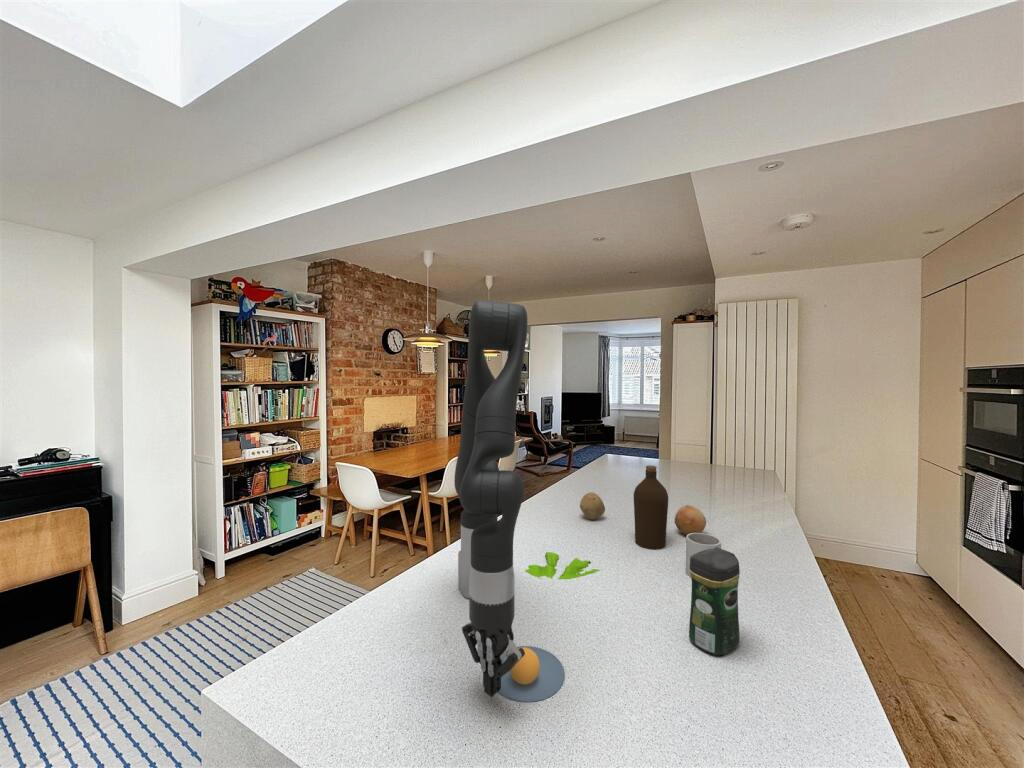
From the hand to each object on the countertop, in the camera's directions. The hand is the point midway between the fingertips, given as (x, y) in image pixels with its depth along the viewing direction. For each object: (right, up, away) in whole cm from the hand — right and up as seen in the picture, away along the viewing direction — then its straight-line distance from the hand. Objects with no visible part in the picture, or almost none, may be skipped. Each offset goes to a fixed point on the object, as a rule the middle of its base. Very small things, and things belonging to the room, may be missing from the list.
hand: (491, 692), depth 70 cm
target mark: (+6, -1, +7) cm, 9 cm away
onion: (+64, 0, +72) cm, 96 cm away
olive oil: (+48, 0, +64) cm, 80 cm away
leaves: (+18, -1, +49) cm, 53 cm away
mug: (+57, -1, +44) cm, 72 cm away
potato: (+33, +1, +87) cm, 93 cm away
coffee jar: (+44, -1, +15) cm, 47 cm away
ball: (+6, +1, +5) cm, 7 cm away
